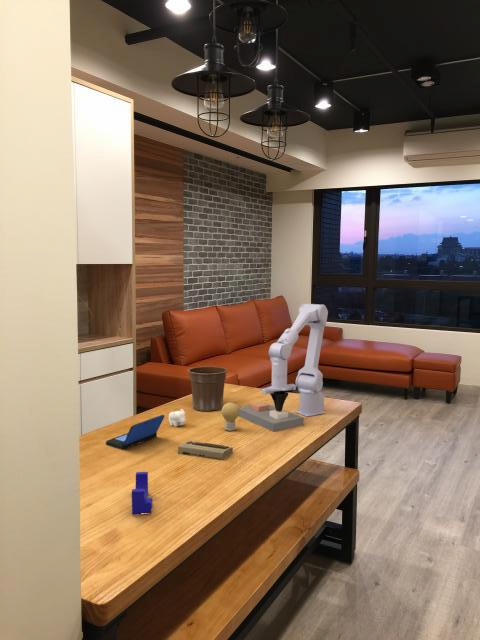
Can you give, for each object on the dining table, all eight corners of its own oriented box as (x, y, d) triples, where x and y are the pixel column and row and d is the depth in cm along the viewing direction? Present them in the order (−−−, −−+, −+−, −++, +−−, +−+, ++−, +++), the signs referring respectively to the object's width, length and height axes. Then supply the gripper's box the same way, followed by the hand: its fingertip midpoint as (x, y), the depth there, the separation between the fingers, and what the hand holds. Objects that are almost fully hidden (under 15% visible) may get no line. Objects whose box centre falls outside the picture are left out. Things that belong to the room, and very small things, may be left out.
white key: (279, 416, 203) (280, 409, 203) (288, 420, 199) (288, 412, 199) (269, 418, 200) (269, 411, 200) (277, 422, 196) (277, 414, 196)
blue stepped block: (151, 515, 129) (150, 491, 128) (132, 515, 128) (131, 491, 127) (153, 493, 140) (153, 471, 140) (136, 494, 140) (136, 472, 139)
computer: (233, 453, 171) (233, 443, 171) (223, 461, 163) (223, 451, 163) (189, 446, 176) (188, 437, 176) (177, 455, 169) (177, 445, 169)
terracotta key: (261, 409, 213) (261, 402, 213) (268, 412, 209) (269, 404, 209) (251, 411, 210) (251, 403, 210) (258, 414, 206) (258, 406, 206)
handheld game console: (138, 433, 190) (137, 407, 189) (166, 440, 182) (165, 414, 181) (104, 445, 177) (103, 418, 176) (132, 453, 169) (131, 425, 168)
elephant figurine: (178, 430, 192) (178, 414, 192) (162, 425, 197) (162, 410, 197) (190, 425, 198) (190, 409, 197) (175, 421, 203) (175, 406, 202)
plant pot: (193, 401, 231) (193, 365, 229) (229, 403, 229) (230, 366, 227) (184, 412, 215) (183, 373, 213) (223, 414, 213) (223, 374, 211)
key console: (265, 410, 219) (265, 402, 218) (303, 425, 199) (303, 417, 198) (236, 415, 211) (236, 408, 211) (273, 431, 191) (273, 423, 191)
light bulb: (239, 427, 196) (240, 400, 194) (238, 433, 189) (238, 405, 188) (222, 426, 196) (222, 400, 195) (220, 432, 190) (220, 405, 189)
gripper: (270, 379, 191) (269, 416, 192) (301, 374, 198) (300, 410, 200) (258, 375, 196) (258, 411, 198) (289, 371, 204) (288, 406, 206)
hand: (278, 410), depth 199 cm, fingers closed
